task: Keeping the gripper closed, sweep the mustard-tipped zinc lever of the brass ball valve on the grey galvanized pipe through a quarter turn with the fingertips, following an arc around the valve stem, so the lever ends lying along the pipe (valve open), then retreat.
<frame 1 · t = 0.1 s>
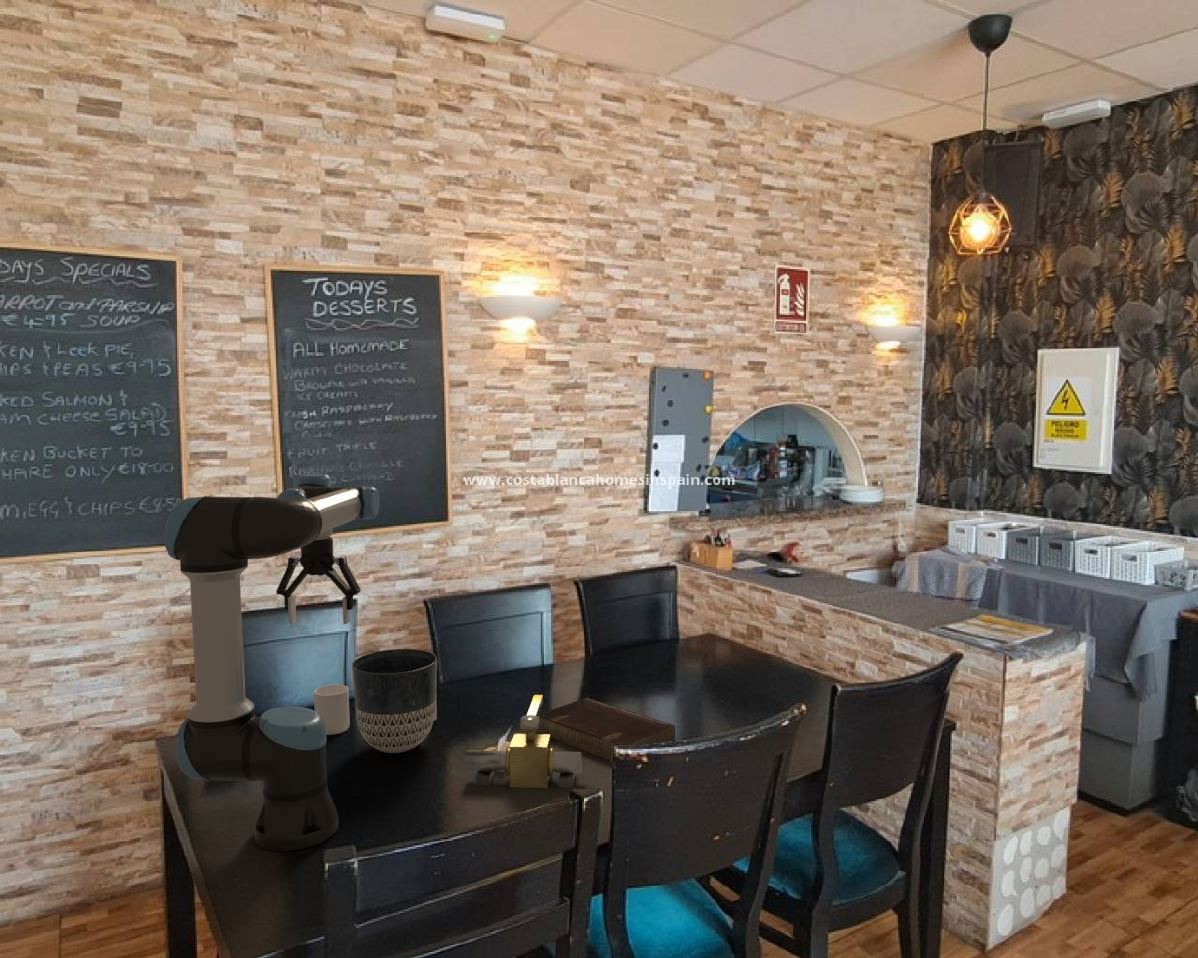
hand: (319, 622, 213), 28 cm above the table, fingers open, 13 cm apart
planter: (397, 749, 205), on the table
lever: (533, 711, 193), point 13 cm above the table, hinge at 0.0°
hardback book: (604, 739, 211), on the table
container: (416, 722, 222), on the table
valve: (530, 780, 187), on the table
cup: (330, 727, 219), on the table
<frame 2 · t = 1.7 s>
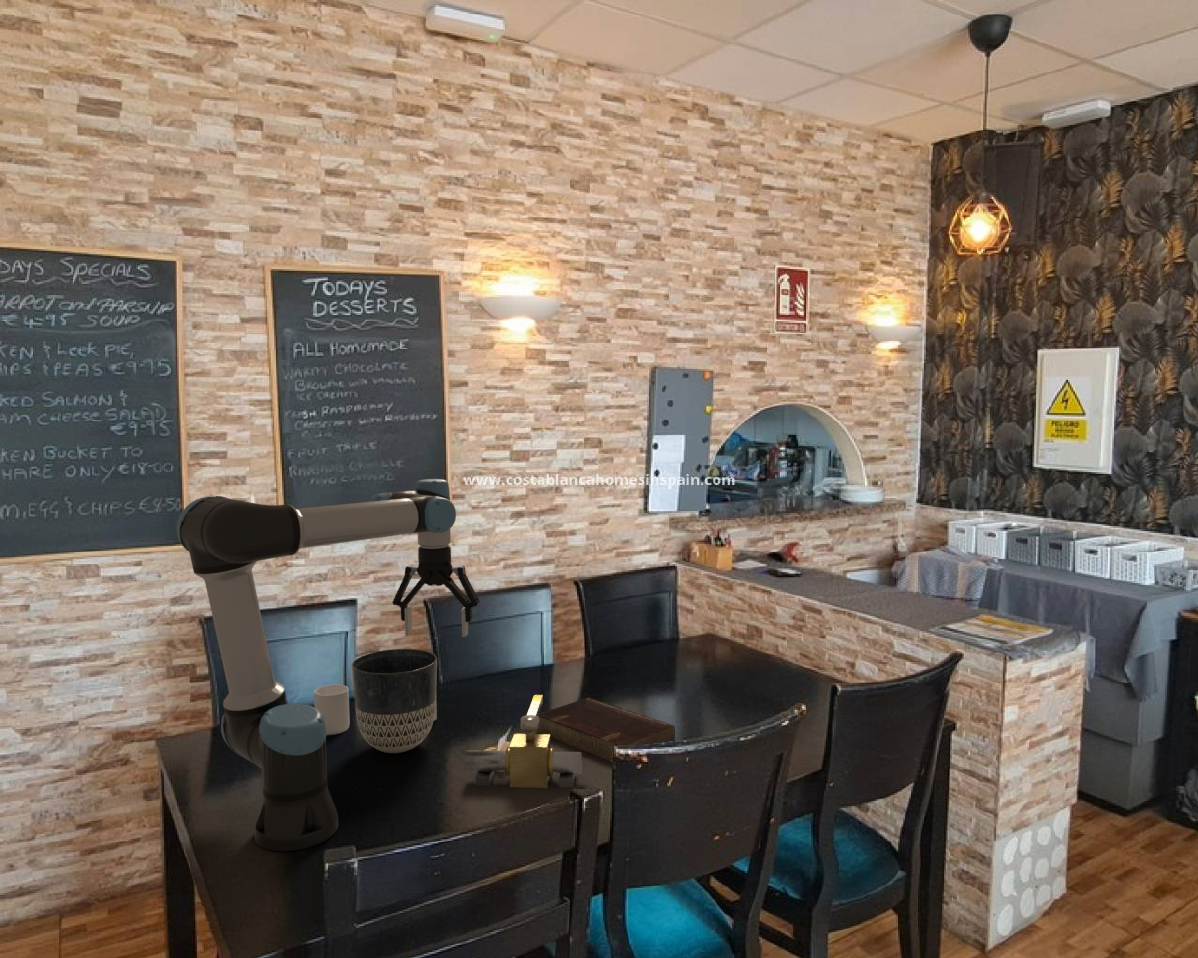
hand: (436, 634, 203), 27 cm above the table, fingers open, 13 cm apart
nothing on the table moved.
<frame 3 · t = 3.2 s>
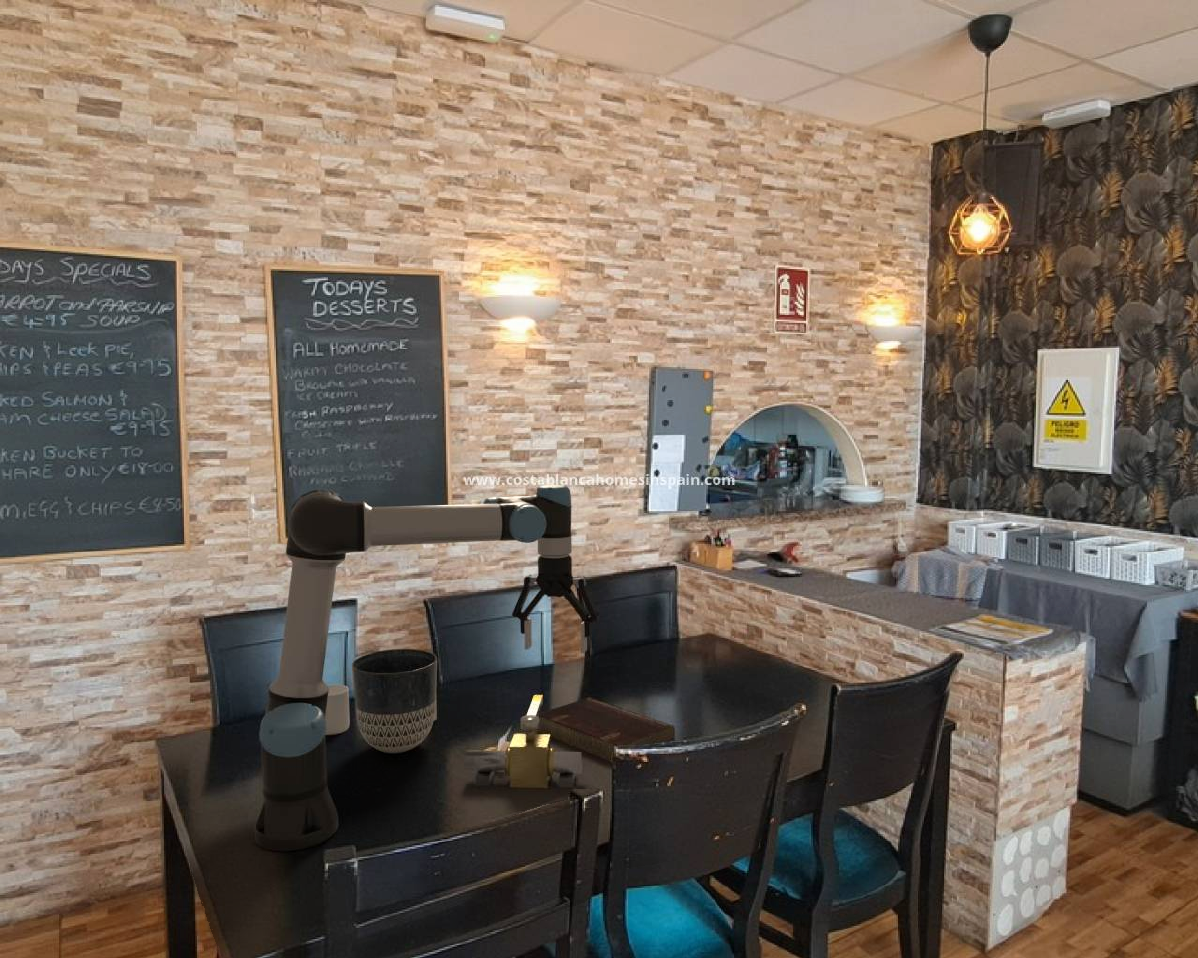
hand: (555, 649, 193), 27 cm above the table, fingers open, 12 cm apart
nothing on the table moved.
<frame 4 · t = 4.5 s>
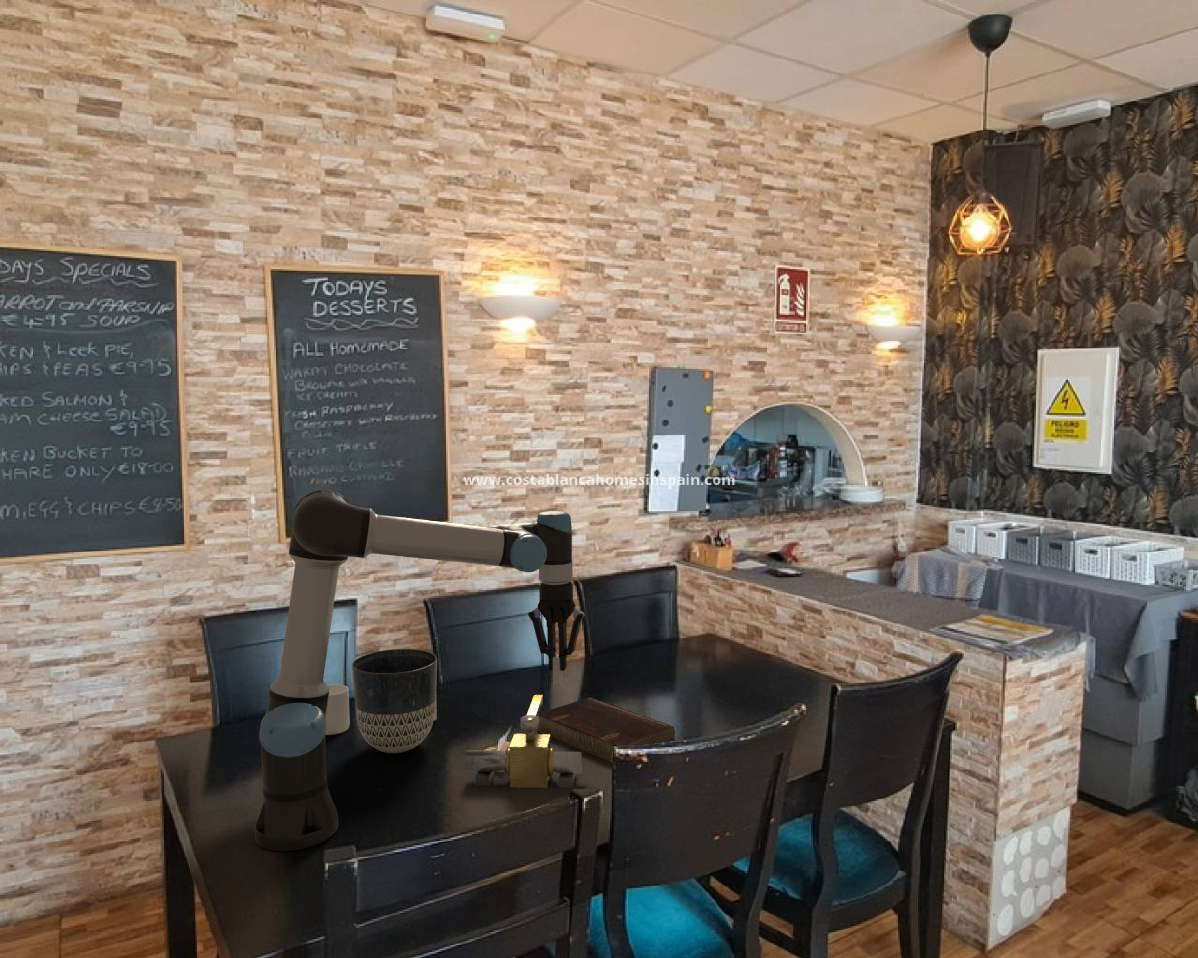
hand: (558, 683, 194), 19 cm above the table, fingers closed
nothing on the table moved.
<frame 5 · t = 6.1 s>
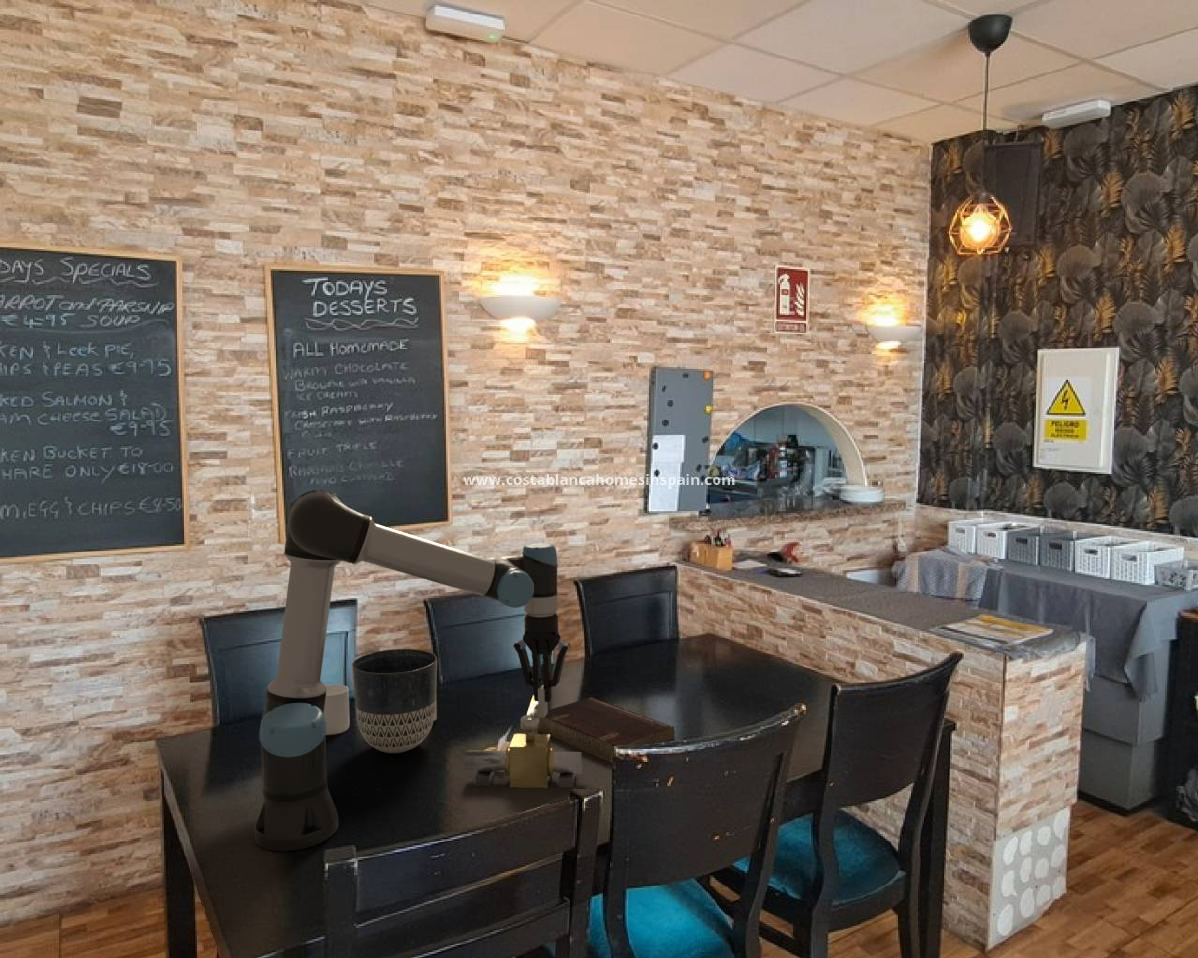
hand: (543, 714, 195), 11 cm above the table, fingers closed
lever: (533, 711, 193), point 13 cm above the table, hinge at 1.0°, touching gripper
everything else where it was.
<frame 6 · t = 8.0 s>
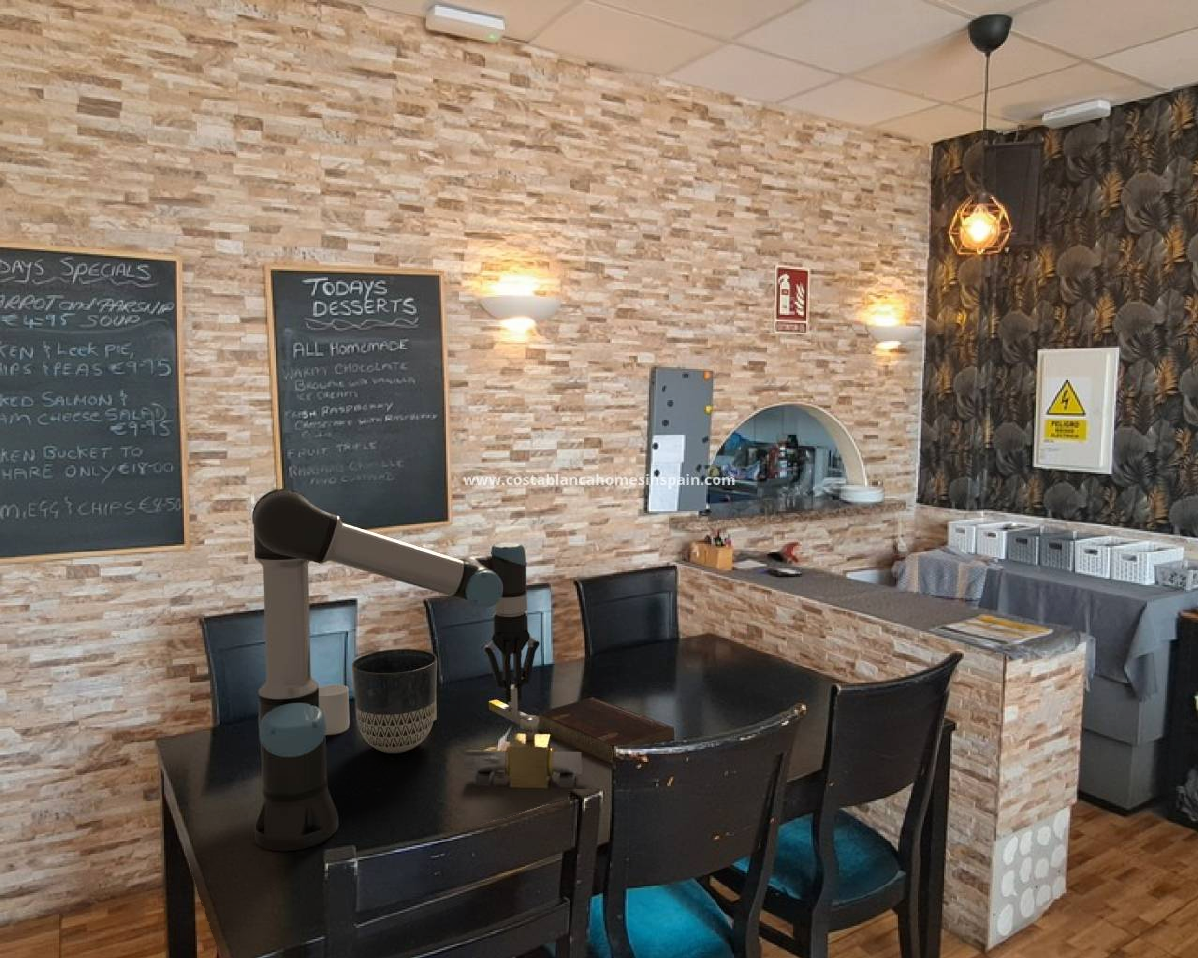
hand: (513, 714, 195), 11 cm above the table, fingers closed
lever: (513, 714, 191), point 13 cm above the table, hinge at 42.3°, touching gripper
everything else where it was.
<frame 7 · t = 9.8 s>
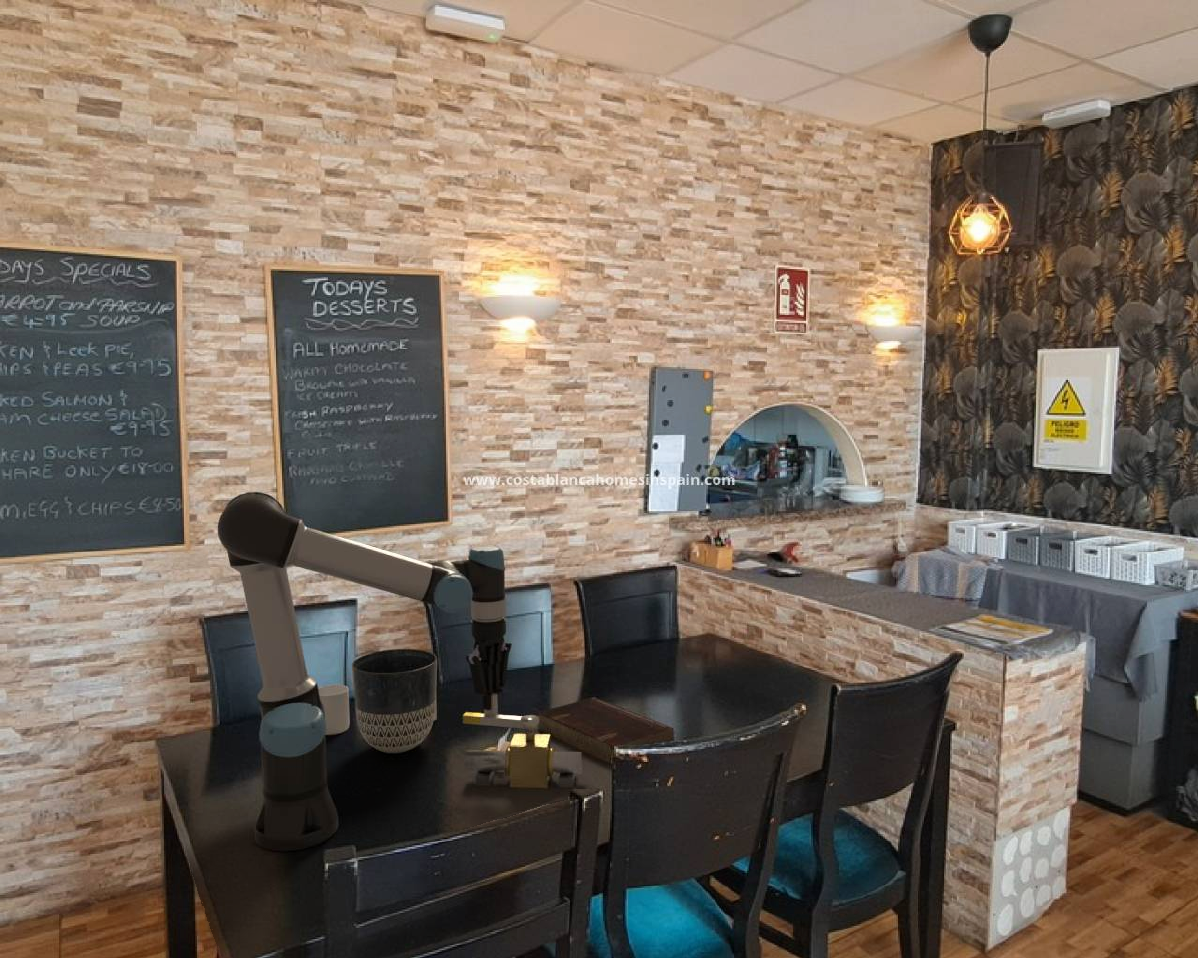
hand: (491, 722, 190), 12 cm above the table, fingers closed
lever: (501, 720, 187), point 13 cm above the table, hinge at 80.4°, touching gripper
everything else where it was.
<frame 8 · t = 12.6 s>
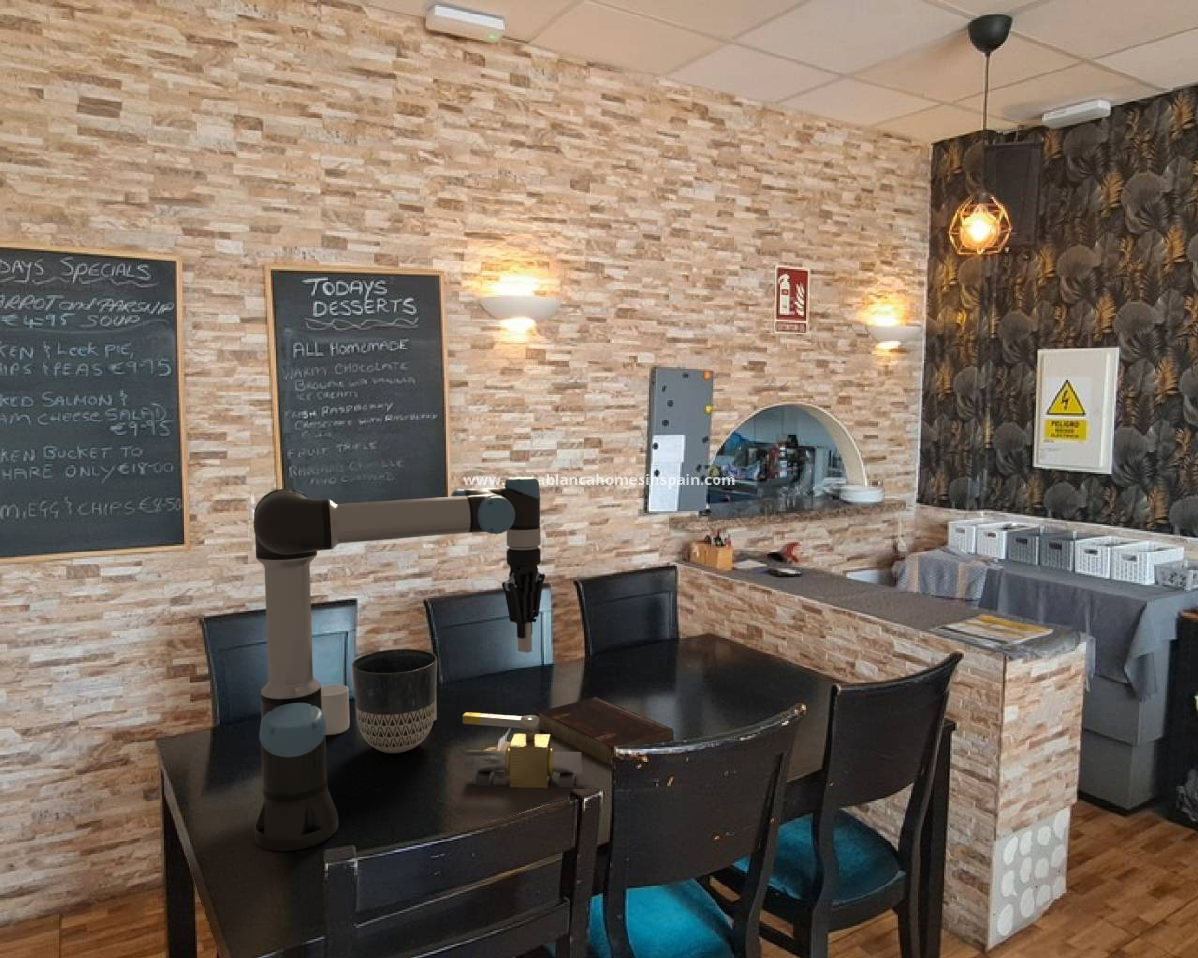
hand: (524, 650, 193), 26 cm above the table, fingers closed
lever: (501, 720, 187), point 13 cm above the table, hinge at 80.5°
at the end: lever at +80° (first picture: +0°) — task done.
